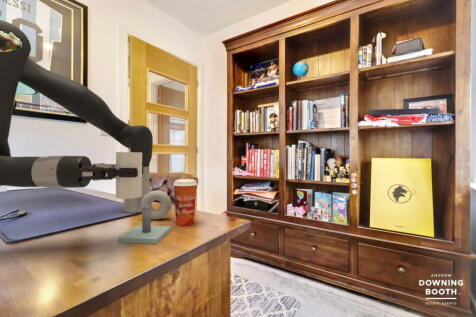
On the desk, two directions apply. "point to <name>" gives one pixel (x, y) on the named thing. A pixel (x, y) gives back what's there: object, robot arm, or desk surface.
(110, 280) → the desk surface
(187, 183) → the paper cup
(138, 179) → the white octagonal tube
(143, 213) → the peg stand
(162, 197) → the donut
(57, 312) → the desk surface
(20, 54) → the robot arm
